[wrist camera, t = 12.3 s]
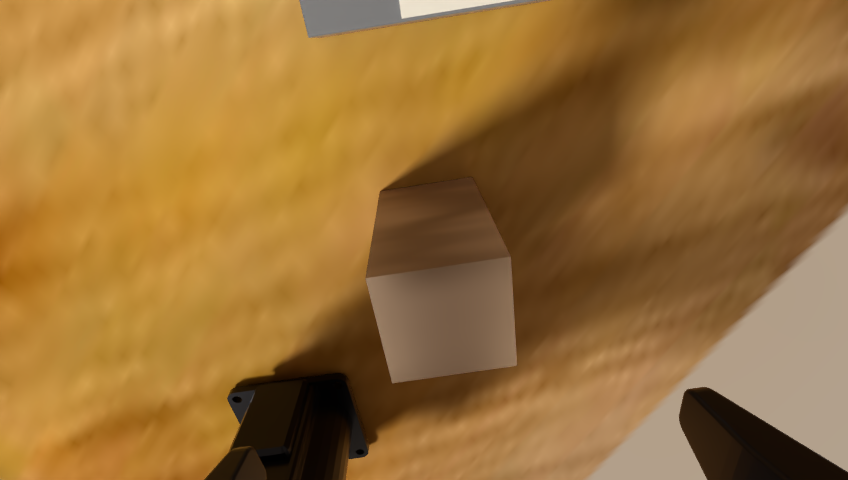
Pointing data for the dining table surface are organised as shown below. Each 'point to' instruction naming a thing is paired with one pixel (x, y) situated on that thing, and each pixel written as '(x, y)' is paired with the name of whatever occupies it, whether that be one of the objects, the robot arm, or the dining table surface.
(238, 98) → the dining table surface
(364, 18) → the grey stepped square base
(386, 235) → the beige rectangular prism
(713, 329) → the dining table surface
